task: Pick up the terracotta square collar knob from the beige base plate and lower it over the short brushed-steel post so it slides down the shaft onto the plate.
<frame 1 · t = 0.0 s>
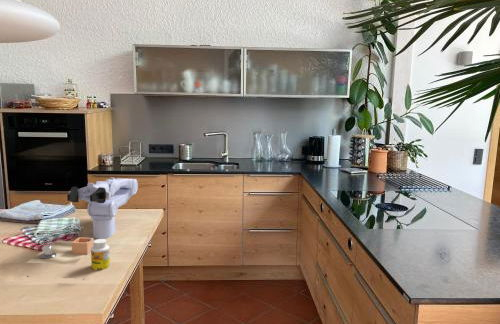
hand: (79, 198, 132), 22 cm above the counter, tool horizontal, fingers open, 7 cm apart
beige base plate: (65, 255, 138), on the counter
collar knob: (83, 251, 138), point 1 cm above the counter, touching beige base plate
steel post: (48, 259, 134), resting on beige base plate
supplement bottle: (101, 271, 127), on the counter
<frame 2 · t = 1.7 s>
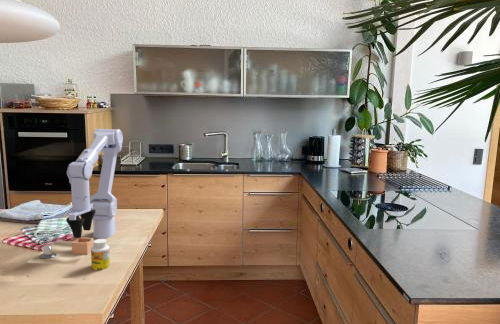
hand: (82, 233, 137), 8 cm above the counter, tool pointing down, fingers open, 7 cm apart
nothing on the counter moved.
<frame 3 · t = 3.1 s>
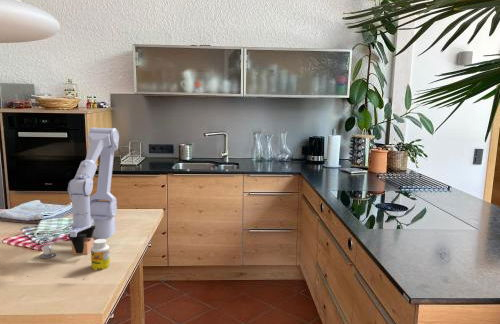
hand: (83, 249, 138), 2 cm above the counter, tool pointing down, fingers closed on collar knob, 5 cm apart
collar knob: (83, 251, 138), point 1 cm above the counter, touching gripper, beige base plate
everything else where it was.
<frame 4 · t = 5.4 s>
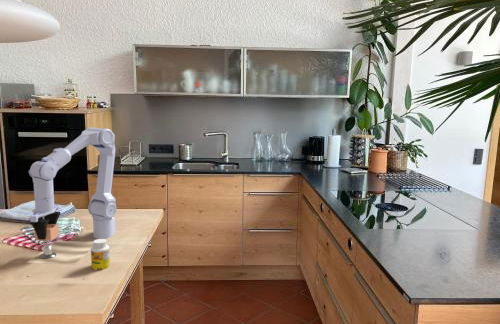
hand: (46, 236, 132), 9 cm above the counter, tool pointing down, fingers closed on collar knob, 5 cm apart
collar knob: (47, 237, 132), point 8 cm above the counter, touching gripper
everything else where it was.
when the fingers open (4 cm above the counter, at t = 7.6 s): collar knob drops 2 cm, resting on steel post.
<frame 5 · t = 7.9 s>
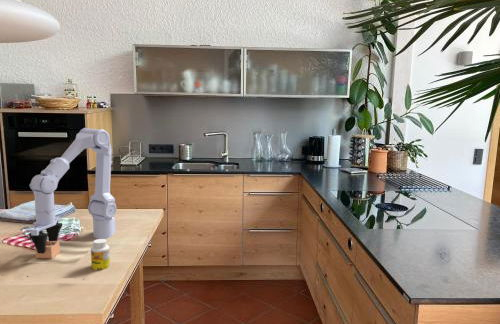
hand: (47, 248, 133), 4 cm above the counter, tool pointing down, fingers open, 7 cm apart
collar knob: (48, 254, 133), point 2 cm above the counter, touching steel post
everything else where it was.
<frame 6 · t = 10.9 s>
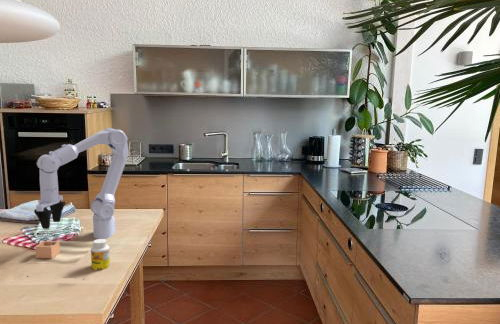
hand: (51, 225, 141), 9 cm above the counter, tool pointing down, fingers open, 7 cm apart
nothing on the counter moved.
at the end: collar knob 0.1 cm from the steel post (horizontally); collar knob point 1.8 cm above the counter; the gripper is holding nothing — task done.
